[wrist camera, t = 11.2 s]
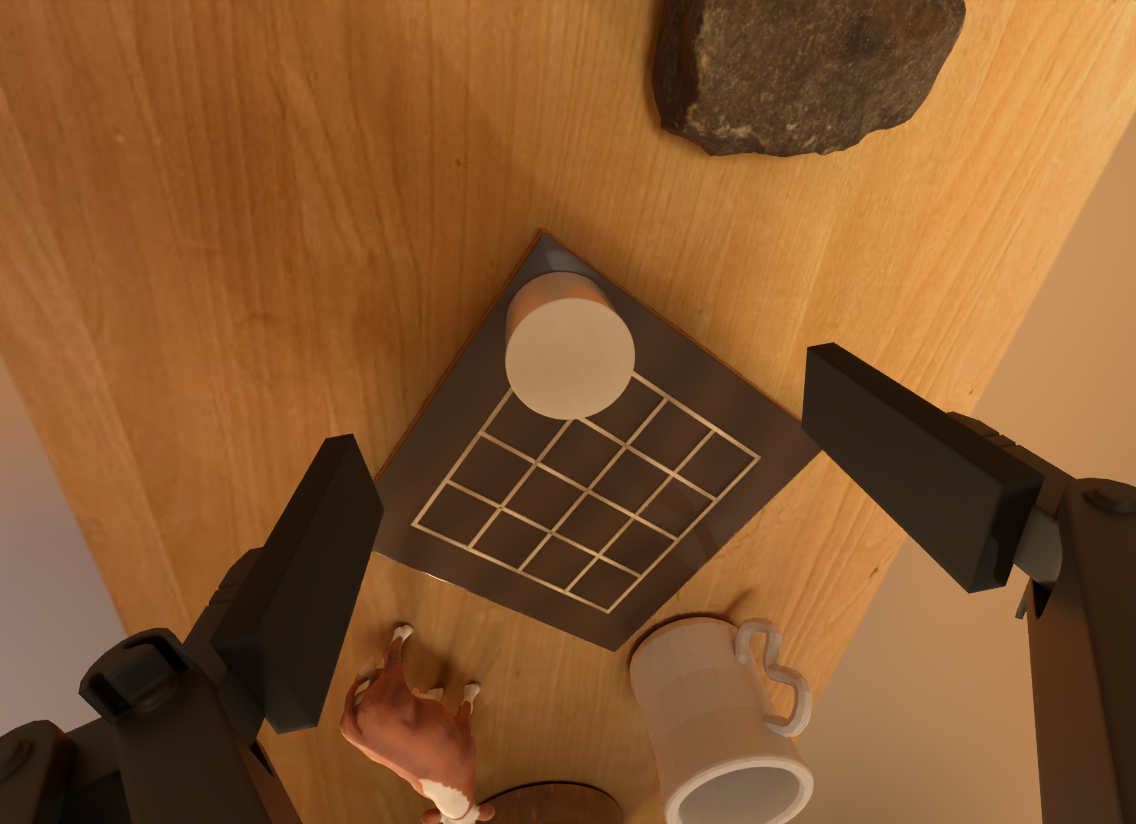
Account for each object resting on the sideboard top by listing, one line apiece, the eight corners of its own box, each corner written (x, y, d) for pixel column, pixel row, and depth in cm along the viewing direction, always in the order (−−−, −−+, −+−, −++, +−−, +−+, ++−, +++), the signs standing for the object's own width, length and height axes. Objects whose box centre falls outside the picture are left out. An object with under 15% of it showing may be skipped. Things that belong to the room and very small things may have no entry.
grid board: (344, 524, 30) (338, 539, 29) (541, 227, 24) (544, 231, 23) (611, 638, 37) (615, 654, 36) (818, 432, 31) (831, 444, 30)
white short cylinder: (483, 341, 25) (479, 379, 21) (546, 248, 23) (555, 270, 19) (571, 395, 26) (584, 440, 22) (636, 313, 25) (661, 345, 21)
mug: (697, 704, 42) (749, 855, 33) (603, 676, 39) (632, 833, 30) (799, 602, 38) (890, 744, 29) (702, 563, 35) (769, 706, 26)
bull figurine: (459, 731, 40) (449, 860, 33) (349, 630, 34) (307, 761, 27) (508, 710, 40) (509, 837, 32) (406, 604, 33) (380, 730, 26)
